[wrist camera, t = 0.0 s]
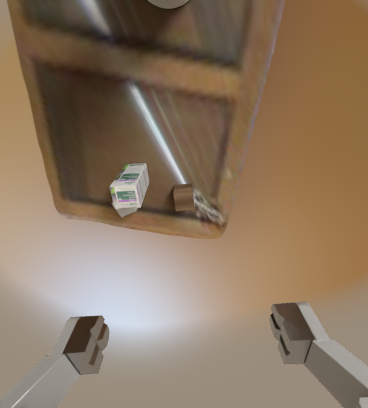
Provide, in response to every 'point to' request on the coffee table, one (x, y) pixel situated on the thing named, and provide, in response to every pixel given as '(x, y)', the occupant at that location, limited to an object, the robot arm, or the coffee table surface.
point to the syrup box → (130, 186)
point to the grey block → (124, 211)
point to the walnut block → (183, 197)
